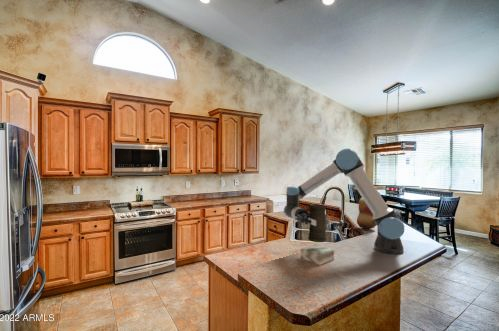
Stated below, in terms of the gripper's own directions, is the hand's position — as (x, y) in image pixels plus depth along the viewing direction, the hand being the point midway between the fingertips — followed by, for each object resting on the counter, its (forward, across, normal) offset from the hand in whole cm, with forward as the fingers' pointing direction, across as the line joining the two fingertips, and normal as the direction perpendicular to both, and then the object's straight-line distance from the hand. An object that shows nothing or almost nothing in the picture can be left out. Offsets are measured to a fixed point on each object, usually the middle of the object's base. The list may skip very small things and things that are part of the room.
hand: (322, 222), depth 128 cm
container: (-5, 0, -10) cm, 11 cm away
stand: (-5, 0, -20) cm, 20 cm away
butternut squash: (-50, -74, -20) cm, 91 cm away
